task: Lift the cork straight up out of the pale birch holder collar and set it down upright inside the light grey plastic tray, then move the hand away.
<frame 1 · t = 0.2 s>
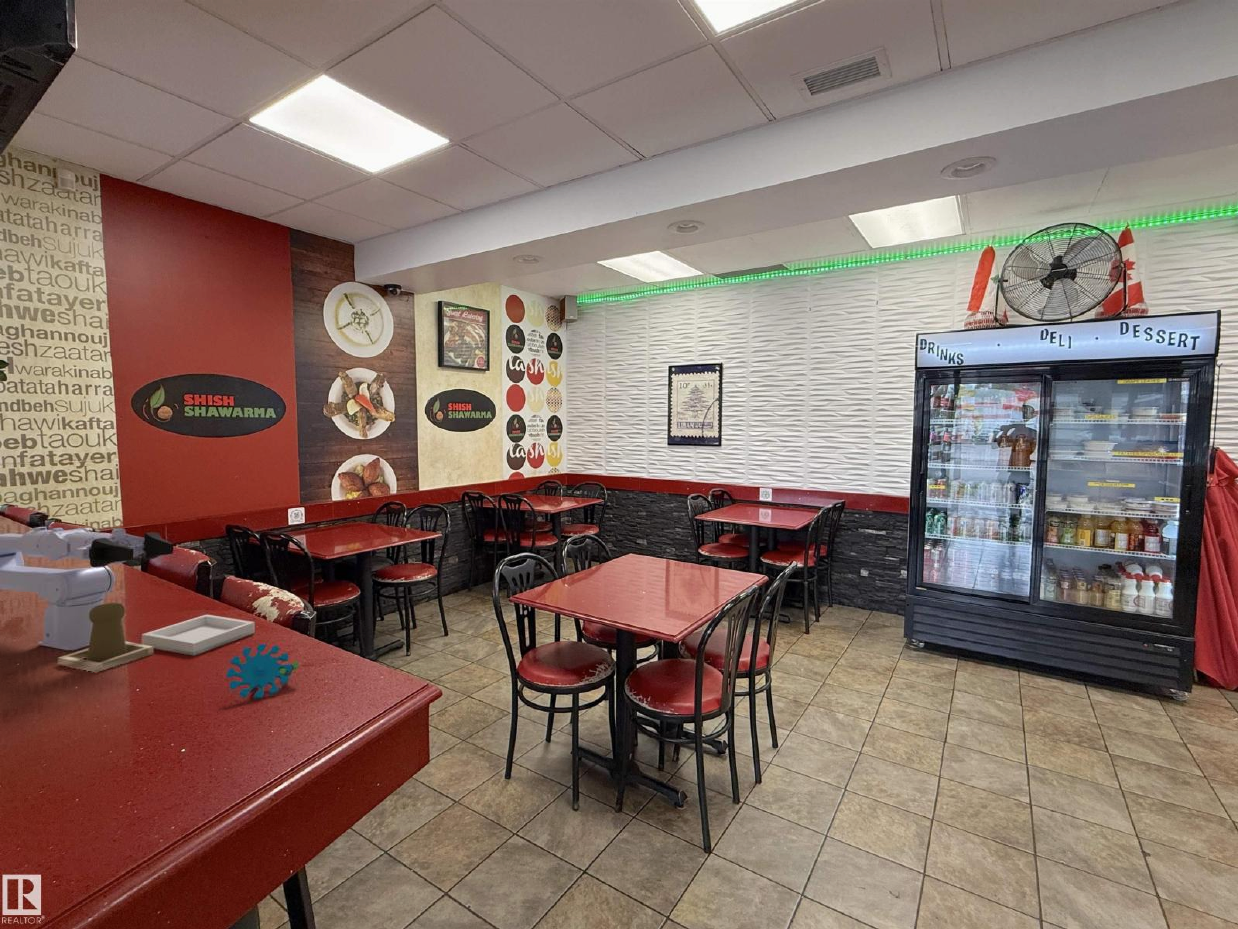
hand: (152, 551, 111), 21 cm above the counter, tool horizontal, fingers open, 7 cm apart
holder collar: (107, 659, 109), on the counter
cork: (107, 660, 109), resting in holder collar
tray: (200, 639, 121), on the counter
gear: (263, 691, 100), on the counter
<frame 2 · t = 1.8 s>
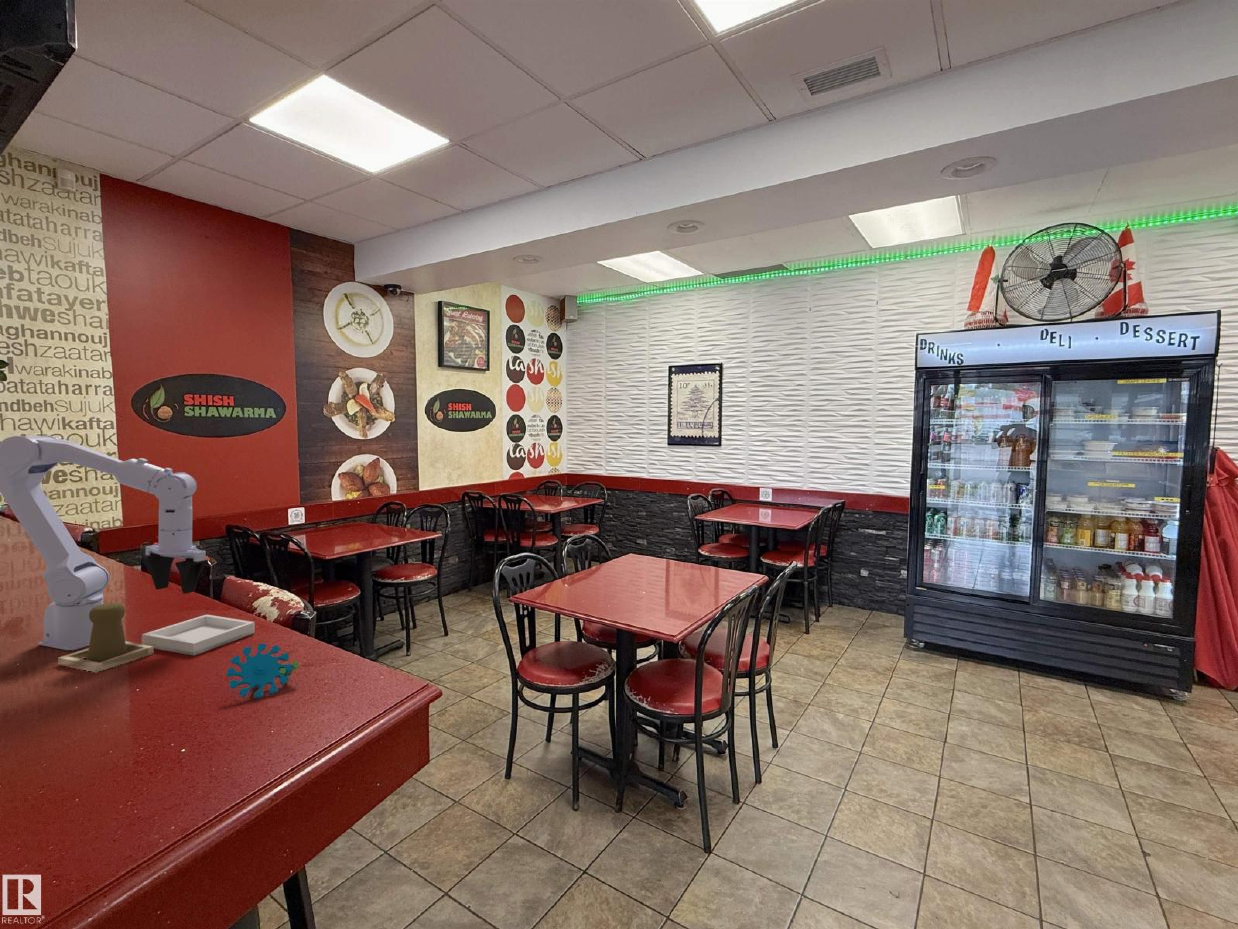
hand: (175, 590, 121), 10 cm above the counter, tool pointing down, fingers open, 7 cm apart
nothing on the counter moved.
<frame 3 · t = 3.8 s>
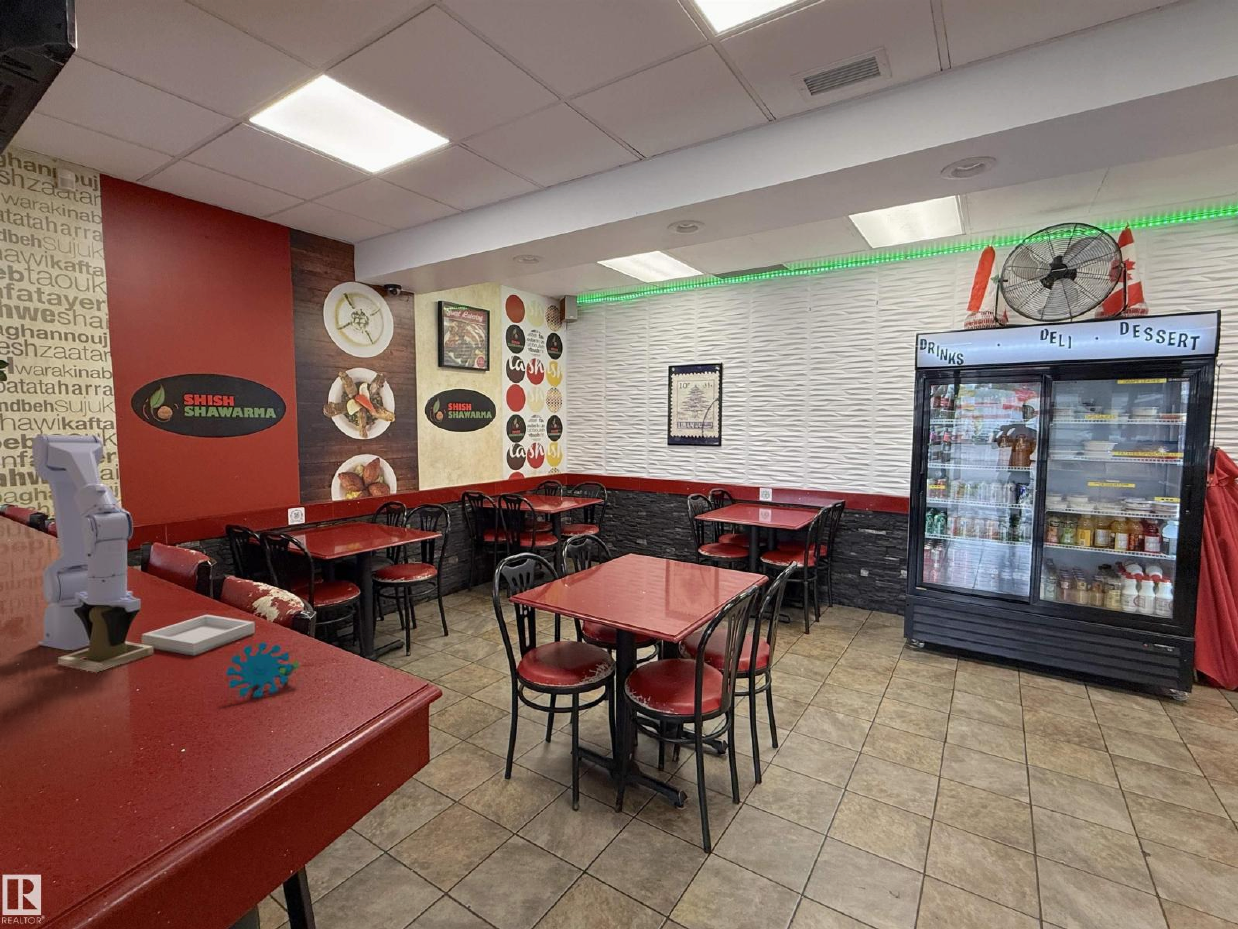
hand: (107, 642, 109), 3 cm above the counter, tool pointing down, fingers closed on cork, 5 cm apart
cork: (107, 660, 109), resting in holder collar, touching gripper
everything else where it was.
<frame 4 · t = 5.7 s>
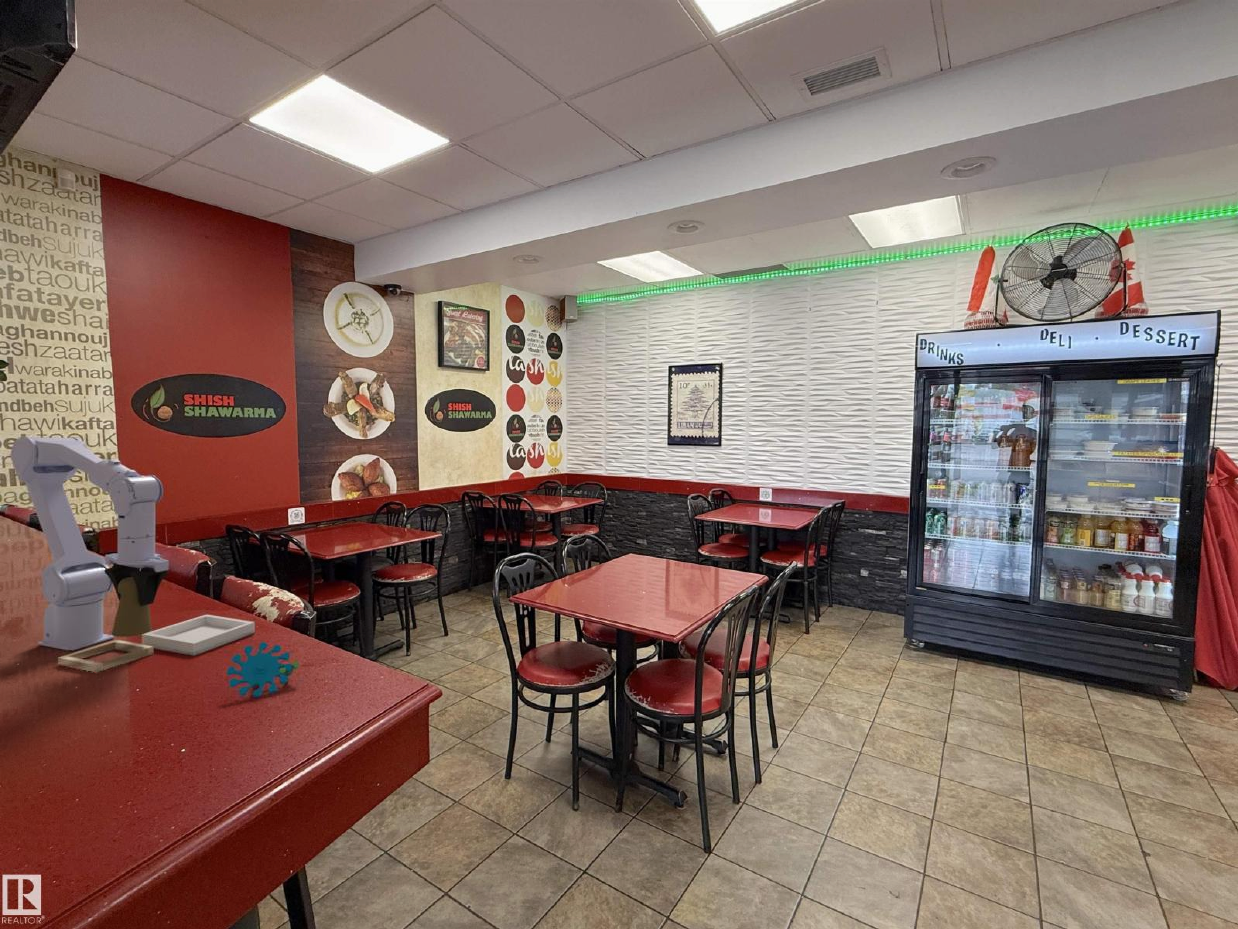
hand: (136, 602, 112), 10 cm above the counter, tool pointing down, fingers closed on cork, 5 cm apart
cork: (131, 632, 112), point 4 cm above the counter, touching gripper
everything else where it was.
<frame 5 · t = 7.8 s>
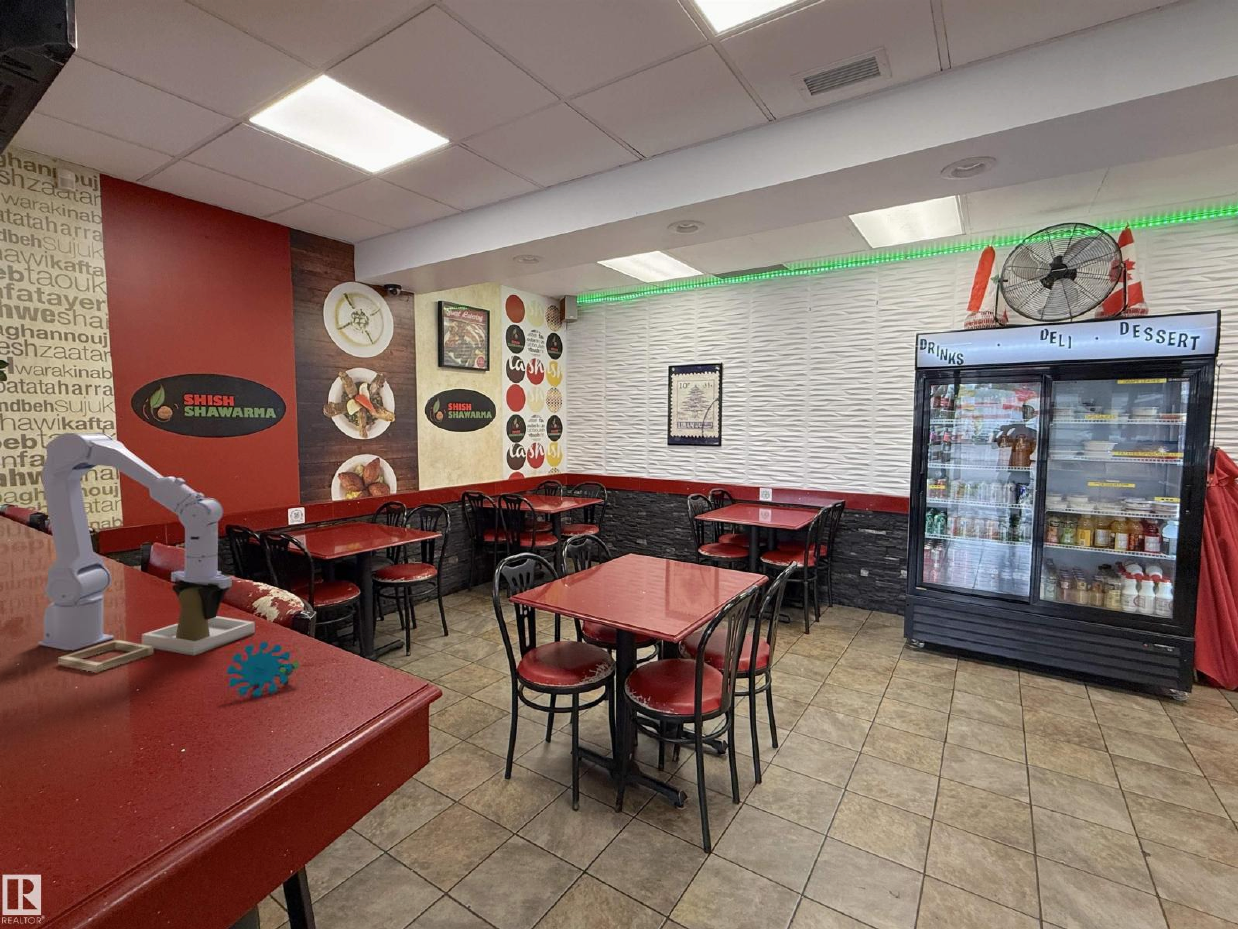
hand: (200, 616, 121), 5 cm above the counter, tool pointing down, fingers closed on cork, 5 cm apart
cork: (192, 639, 120), resting on tray, touching gripper
everything else where it was.
when the fingers open (5 cm above the counter, at t = 8.2 s): cork stays where it is, resting on tray.
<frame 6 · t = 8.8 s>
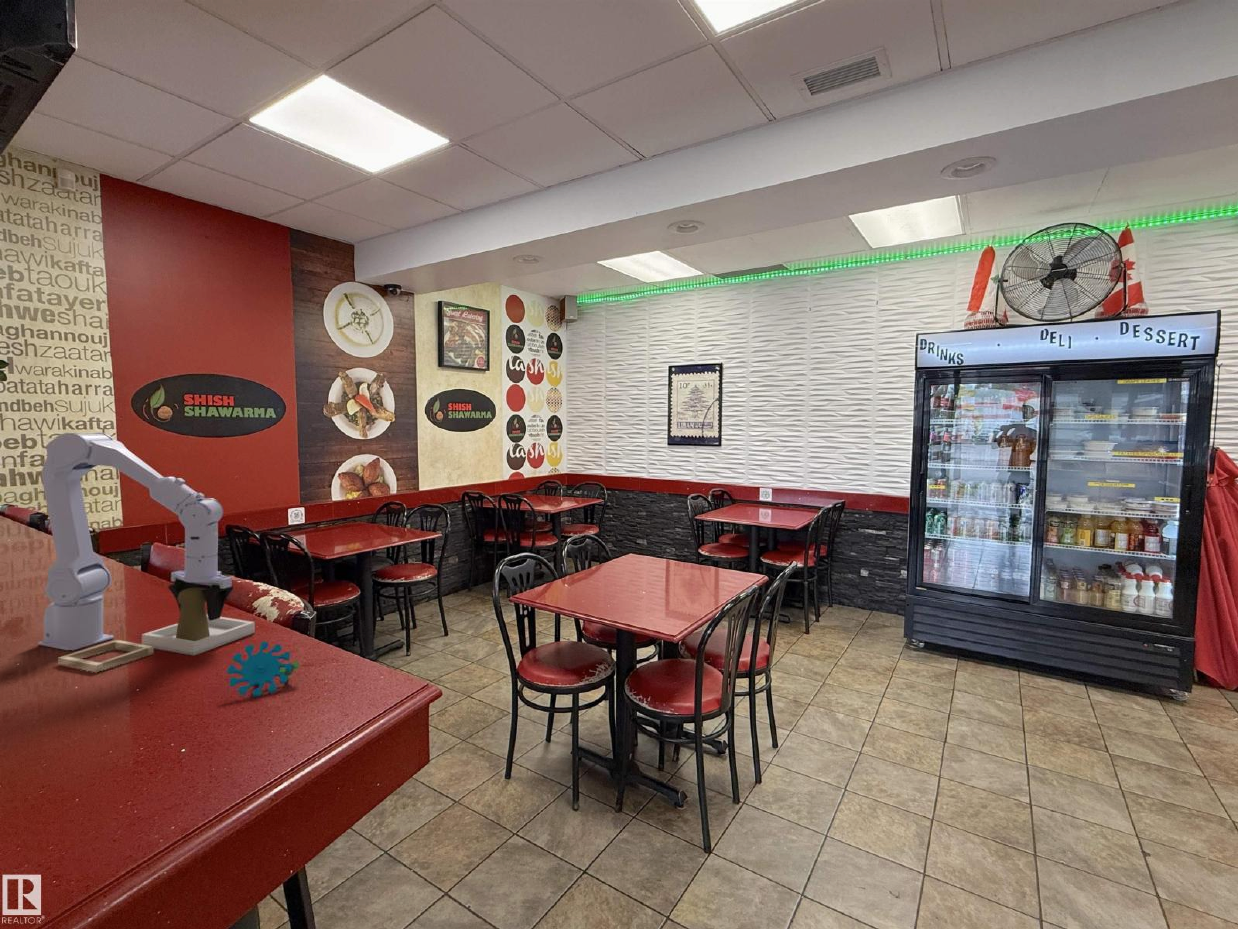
hand: (200, 616, 121), 5 cm above the counter, tool pointing down, fingers open, 7 cm apart
cork: (192, 639, 120), resting on tray
everything else where it was.
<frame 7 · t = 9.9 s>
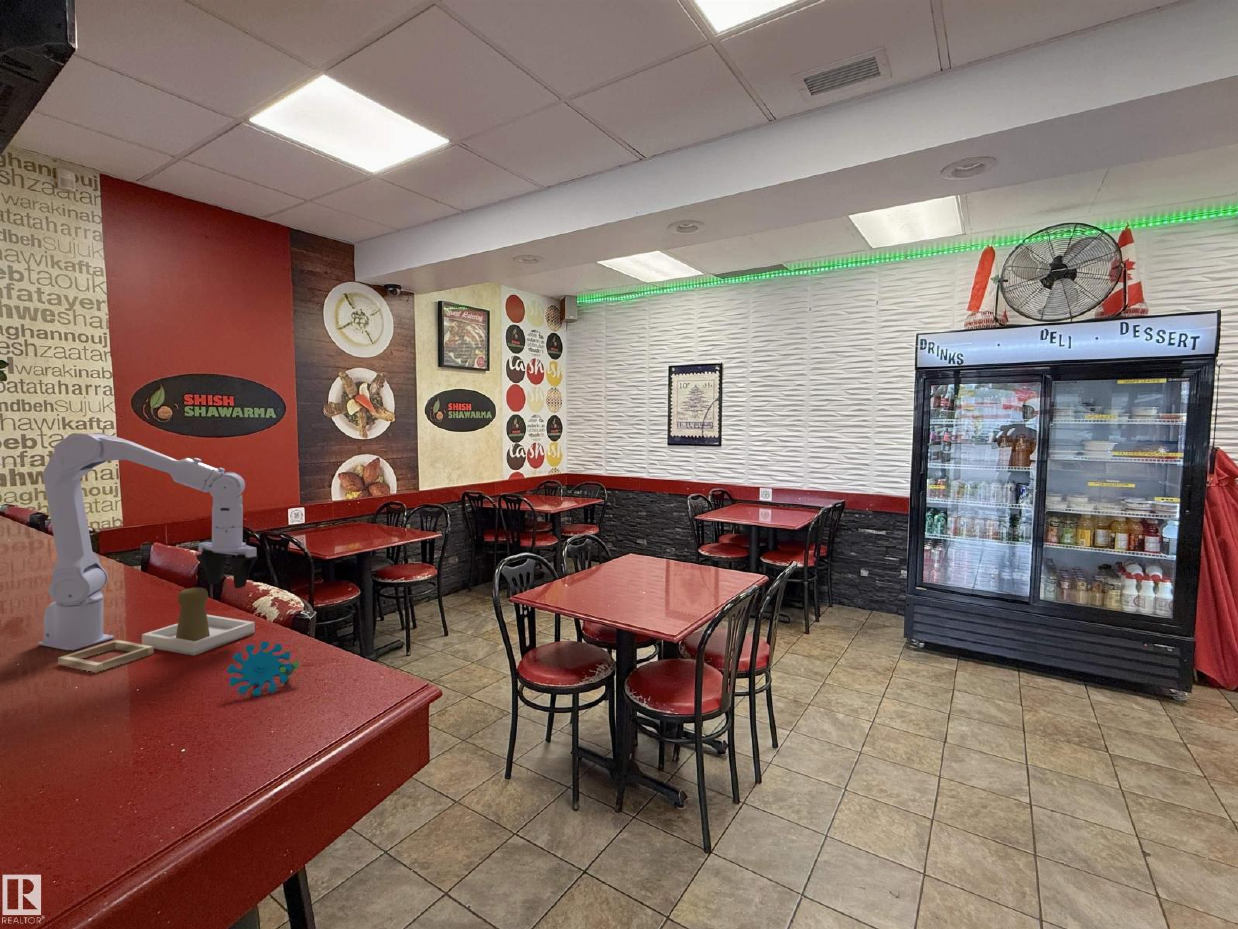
hand: (227, 585, 127), 10 cm above the counter, tool pointing down, fingers open, 7 cm apart
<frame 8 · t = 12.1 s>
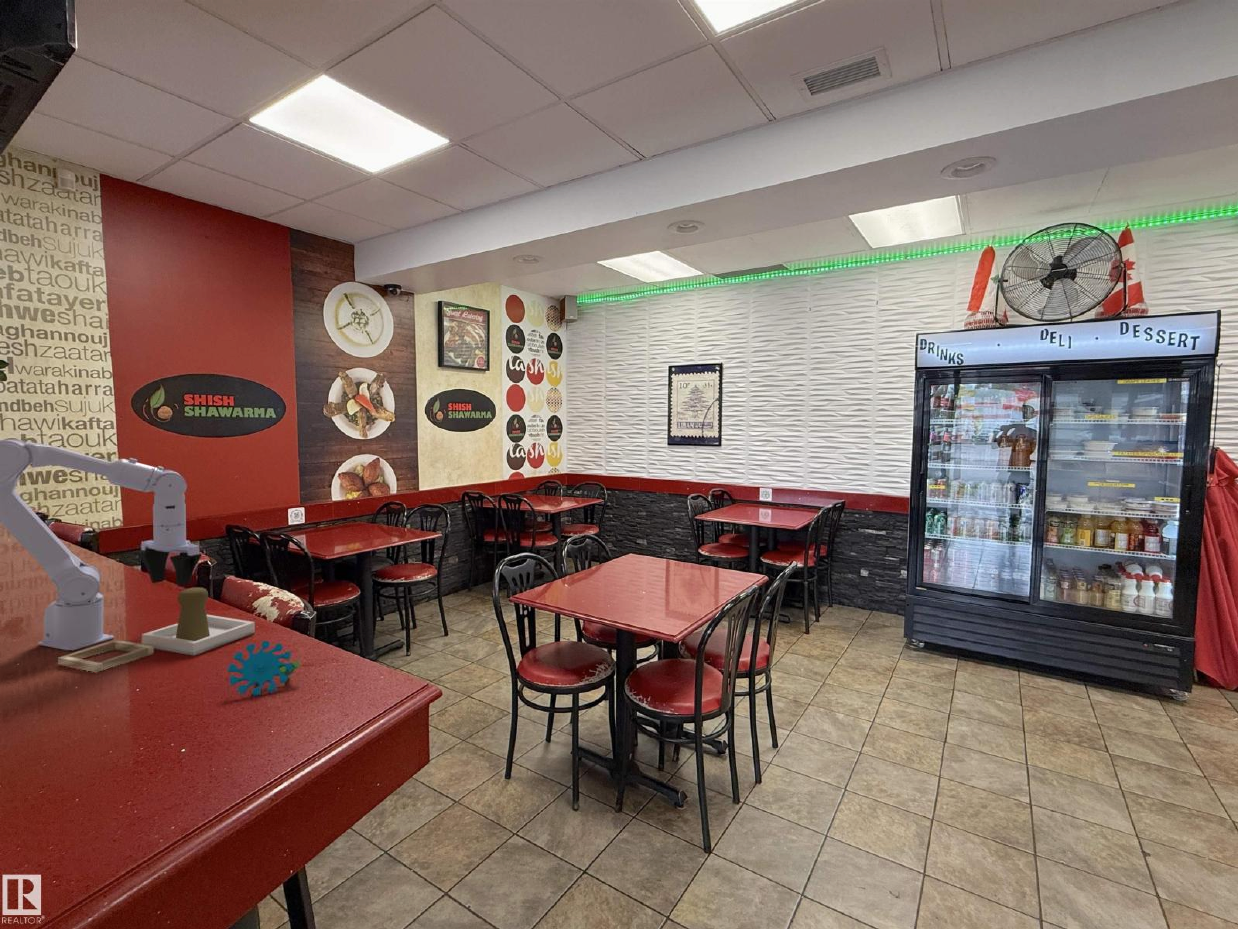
hand: (170, 583, 126), 10 cm above the counter, tool pointing down, fingers open, 7 cm apart
at the end: cork inside the target area on the tray (1.6 cm from its centre), point 0.4 cm above the tray's base; cork tilted 0°; the gripper is holding nothing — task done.
